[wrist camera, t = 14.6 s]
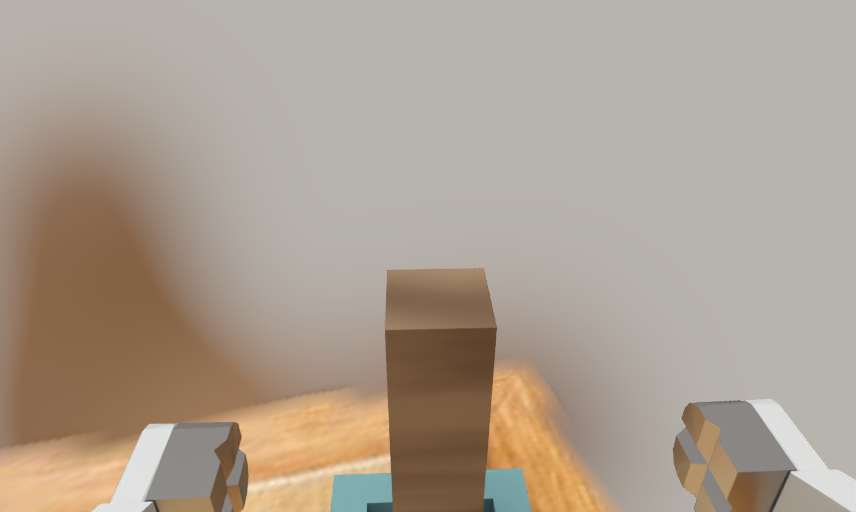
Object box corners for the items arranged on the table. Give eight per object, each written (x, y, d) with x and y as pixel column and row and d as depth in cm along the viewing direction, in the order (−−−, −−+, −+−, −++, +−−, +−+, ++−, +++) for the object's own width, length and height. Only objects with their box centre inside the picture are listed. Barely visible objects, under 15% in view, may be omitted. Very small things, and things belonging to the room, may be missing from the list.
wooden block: (473, 635, 28) (496, 327, 19) (398, 638, 28) (385, 330, 19) (466, 564, 31) (483, 268, 22) (398, 566, 31) (387, 270, 22)
